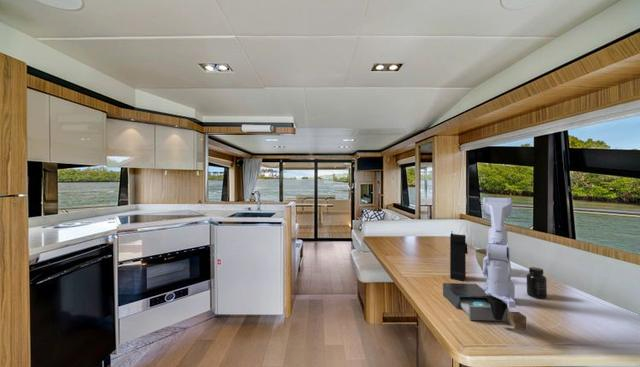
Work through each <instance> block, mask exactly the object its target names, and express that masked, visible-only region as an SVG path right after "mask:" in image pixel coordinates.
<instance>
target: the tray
mask: <svg viewBox="0 0 640 367" xmlns="http://www.w3.org/2000/svg"><path fill="white" fill-rule="evenodd" d="M476 301H479V302H484V303H487V304H489V302H487V301H486V300H485V299H459V306H461V307H462V308H463V309H462V310H464V311H465V312H466V313H467V314H468V319H469V320H470V321H471V320H472V321H500V322H501V321H502V322H508V312H509V307H507V309H506V310H505V313H504V316H503V319H502V320H495V319H494V317H493V314H492V310H491V306H473V302H476ZM489 305H490V304H489Z"/></svg>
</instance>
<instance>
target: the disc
mask: <svg viewBox="0 0 640 367" xmlns="http://www.w3.org/2000/svg"><path fill="white" fill-rule="evenodd" d="M473 306H490V305H489V304H487V303H484V302H479V301H476V302H473Z"/></svg>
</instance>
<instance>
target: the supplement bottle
mask: <svg viewBox="0 0 640 367" xmlns="http://www.w3.org/2000/svg"><path fill="white" fill-rule="evenodd" d="M528 272H529V273H527V274H526V295H527V296H529V297H531V298H534V299H539V300H545V299H547V297H548V286H547V285H548V284H547V282H548V281H547V277H546V276H545V275H544V269H543V268H541V267H534V266H532V267H531V266H530V267H529V268H528Z"/></svg>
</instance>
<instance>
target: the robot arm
mask: <svg viewBox="0 0 640 367" xmlns="http://www.w3.org/2000/svg"><path fill="white" fill-rule="evenodd" d="M482 213H483V215H484V216H486V217H489V220H490V228H489V229H488V235H487V236H488V241H487V242H488V244H486V249H487V256H485V257H484V259H483V271H482V274H483V276H484V277H486V284H485V283H483V284H482V289H483V290H485V293H486V294H487V295H490V296H486V298H487V300H488V302H489V304H490V306H491V310H492V314H493V317H494V319H495V320H502V319H503V316H504V313H505V310H506V309H507V308H511V309H513V308H516V305H517V302H516V301H515V300H516V299H515V298H516V297H515V296H516V294H515V293H516V290H515V289H516V288H515V287H516V286H515V284H514V282H513V281H512V280H511V278H512V266H511V265H512V264H511V249H510V243H509V239H508V231H507V229H506V228H504V222H505V218H509V217H510V216H511V215H512V213H513V199H512V198H511V197H486V196H484V197H483V198H482ZM507 258H508V259H507Z"/></svg>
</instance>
